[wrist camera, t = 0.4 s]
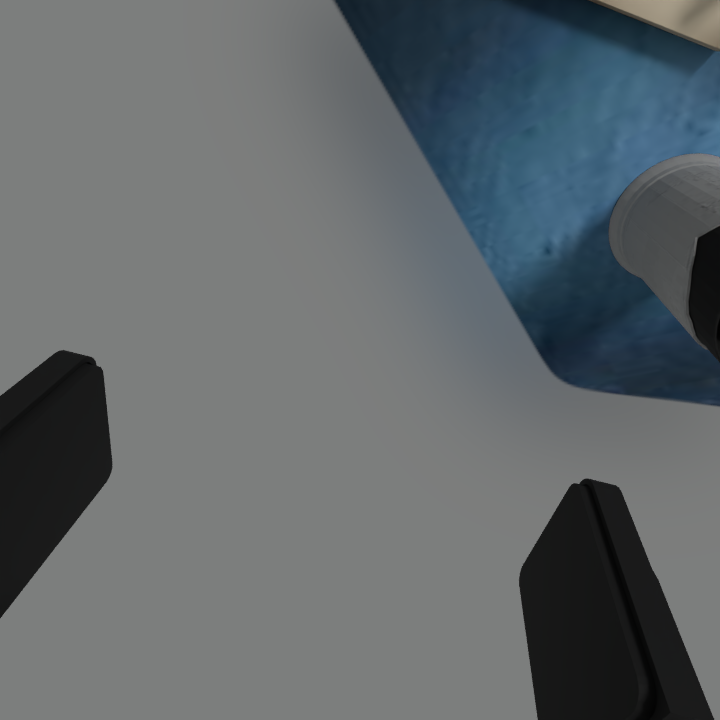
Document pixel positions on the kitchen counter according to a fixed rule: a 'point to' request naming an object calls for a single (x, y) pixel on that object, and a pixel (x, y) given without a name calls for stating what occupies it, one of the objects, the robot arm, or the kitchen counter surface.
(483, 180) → the kitchen counter surface
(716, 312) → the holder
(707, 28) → the four-post base plate
